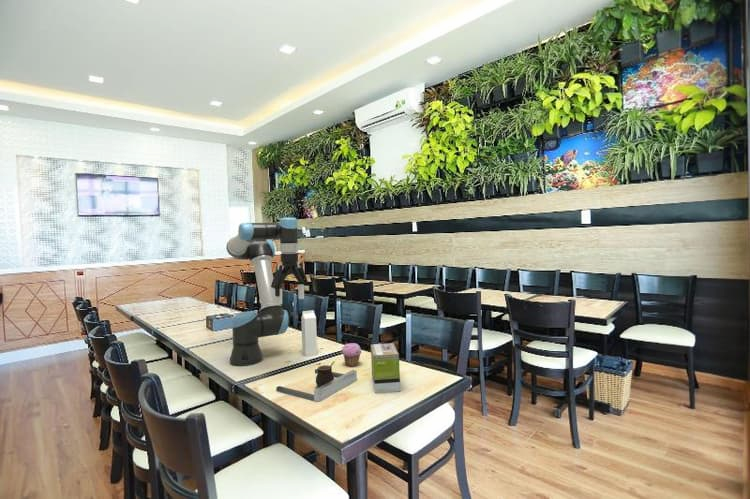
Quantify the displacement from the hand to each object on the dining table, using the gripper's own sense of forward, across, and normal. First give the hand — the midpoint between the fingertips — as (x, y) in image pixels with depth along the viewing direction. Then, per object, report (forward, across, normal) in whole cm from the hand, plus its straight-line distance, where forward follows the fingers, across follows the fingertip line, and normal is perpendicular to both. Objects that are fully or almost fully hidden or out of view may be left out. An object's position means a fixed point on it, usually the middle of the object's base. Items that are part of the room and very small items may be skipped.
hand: (290, 301), depth 173 cm
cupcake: (+31, +19, -19) cm, 41 cm away
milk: (+32, +23, +10) cm, 40 cm away
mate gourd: (+31, -8, -25) cm, 41 cm away
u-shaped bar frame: (+31, -8, -22) cm, 38 cm away
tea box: (+31, +5, -45) cm, 55 cm away
